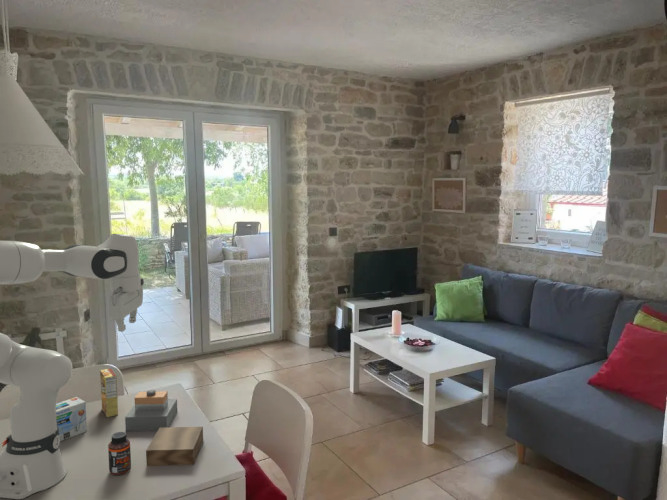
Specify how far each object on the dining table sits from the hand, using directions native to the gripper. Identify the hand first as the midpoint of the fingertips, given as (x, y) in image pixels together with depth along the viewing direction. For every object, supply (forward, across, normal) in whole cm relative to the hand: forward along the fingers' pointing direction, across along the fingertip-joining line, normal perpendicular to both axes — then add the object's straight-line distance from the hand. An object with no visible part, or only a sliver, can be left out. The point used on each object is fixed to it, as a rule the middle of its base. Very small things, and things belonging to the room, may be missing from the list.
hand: (127, 326), depth 156 cm
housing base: (+34, +14, -2) cm, 37 cm away
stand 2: (+39, -8, -16) cm, 43 cm away
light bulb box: (+39, +6, +24) cm, 47 cm away
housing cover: (+32, +14, -2) cm, 35 cm away
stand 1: (+39, +14, -2) cm, 42 cm away
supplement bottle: (+39, -17, -2) cm, 43 cm away
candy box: (+39, +22, +16) cm, 48 cm away
